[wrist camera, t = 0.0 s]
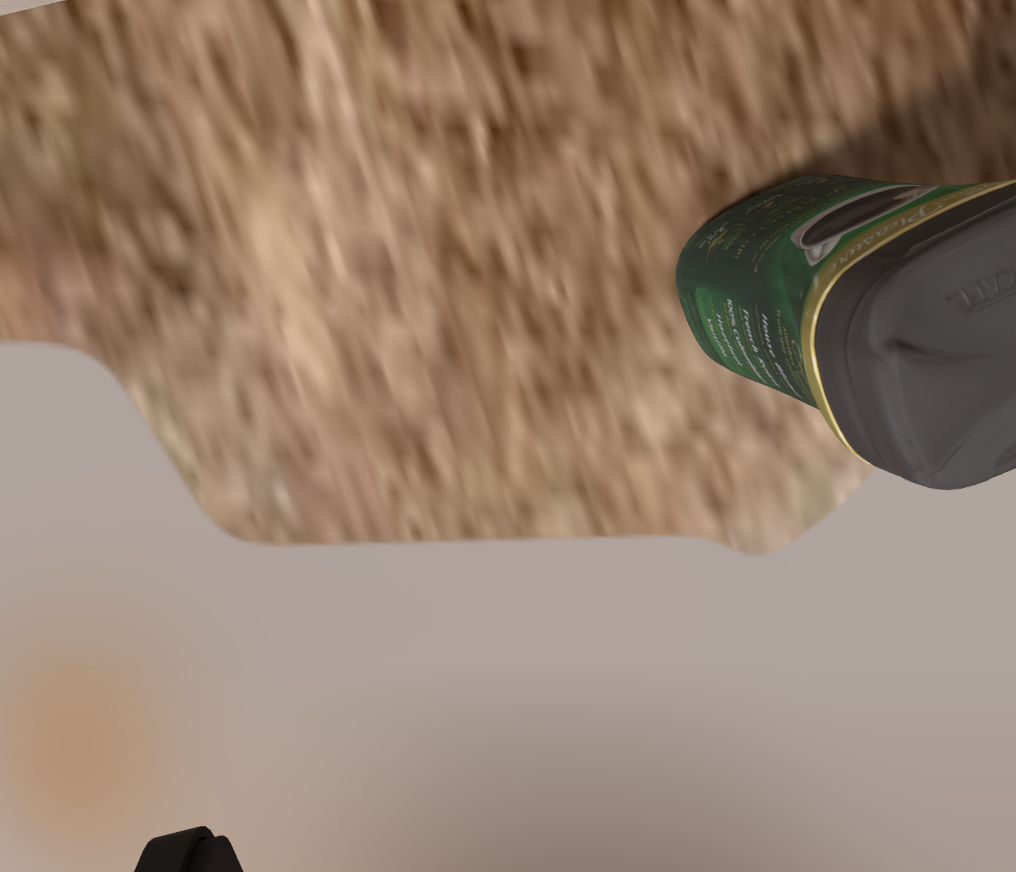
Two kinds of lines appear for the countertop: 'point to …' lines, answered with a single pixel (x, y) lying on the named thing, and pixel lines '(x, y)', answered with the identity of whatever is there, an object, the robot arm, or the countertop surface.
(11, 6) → the rack
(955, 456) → the coffee jar
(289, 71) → the countertop surface
